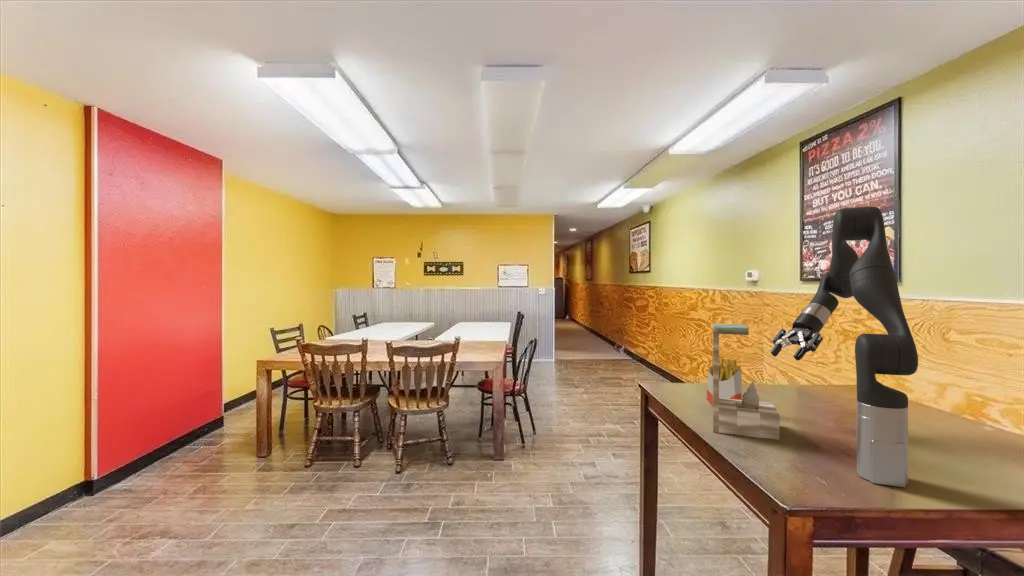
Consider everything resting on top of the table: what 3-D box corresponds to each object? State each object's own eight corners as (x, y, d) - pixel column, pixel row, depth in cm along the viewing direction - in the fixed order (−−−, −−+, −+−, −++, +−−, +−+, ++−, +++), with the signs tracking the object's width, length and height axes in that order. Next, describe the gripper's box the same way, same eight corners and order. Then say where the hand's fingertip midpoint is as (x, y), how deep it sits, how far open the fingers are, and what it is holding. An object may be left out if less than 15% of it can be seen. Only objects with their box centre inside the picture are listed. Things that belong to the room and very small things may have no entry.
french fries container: (734, 413, 160) (734, 361, 160) (706, 406, 169) (706, 357, 169) (741, 411, 163) (741, 360, 163) (713, 404, 172) (713, 356, 172)
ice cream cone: (751, 427, 145) (758, 380, 145) (758, 432, 140) (765, 383, 140) (735, 424, 145) (741, 378, 145) (741, 429, 140) (748, 380, 140)
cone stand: (779, 439, 132) (779, 329, 132) (713, 432, 139) (713, 327, 139) (772, 424, 146) (772, 325, 146) (712, 418, 153) (712, 323, 153)
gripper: (786, 311, 155) (759, 346, 151) (826, 313, 141) (797, 351, 138) (798, 326, 156) (772, 361, 153) (839, 329, 142) (811, 368, 139)
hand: (784, 356), depth 145 cm, fingers open, 8 cm apart
